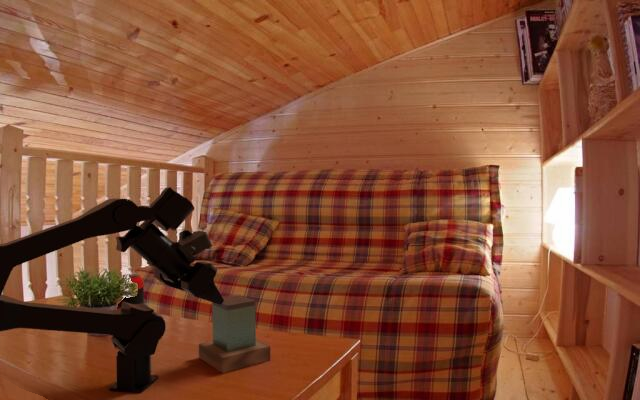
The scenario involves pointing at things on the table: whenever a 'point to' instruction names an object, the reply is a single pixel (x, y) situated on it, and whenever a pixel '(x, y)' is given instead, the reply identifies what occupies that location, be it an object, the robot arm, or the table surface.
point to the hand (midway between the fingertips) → (211, 298)
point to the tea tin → (234, 323)
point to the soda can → (140, 295)
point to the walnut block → (233, 356)
